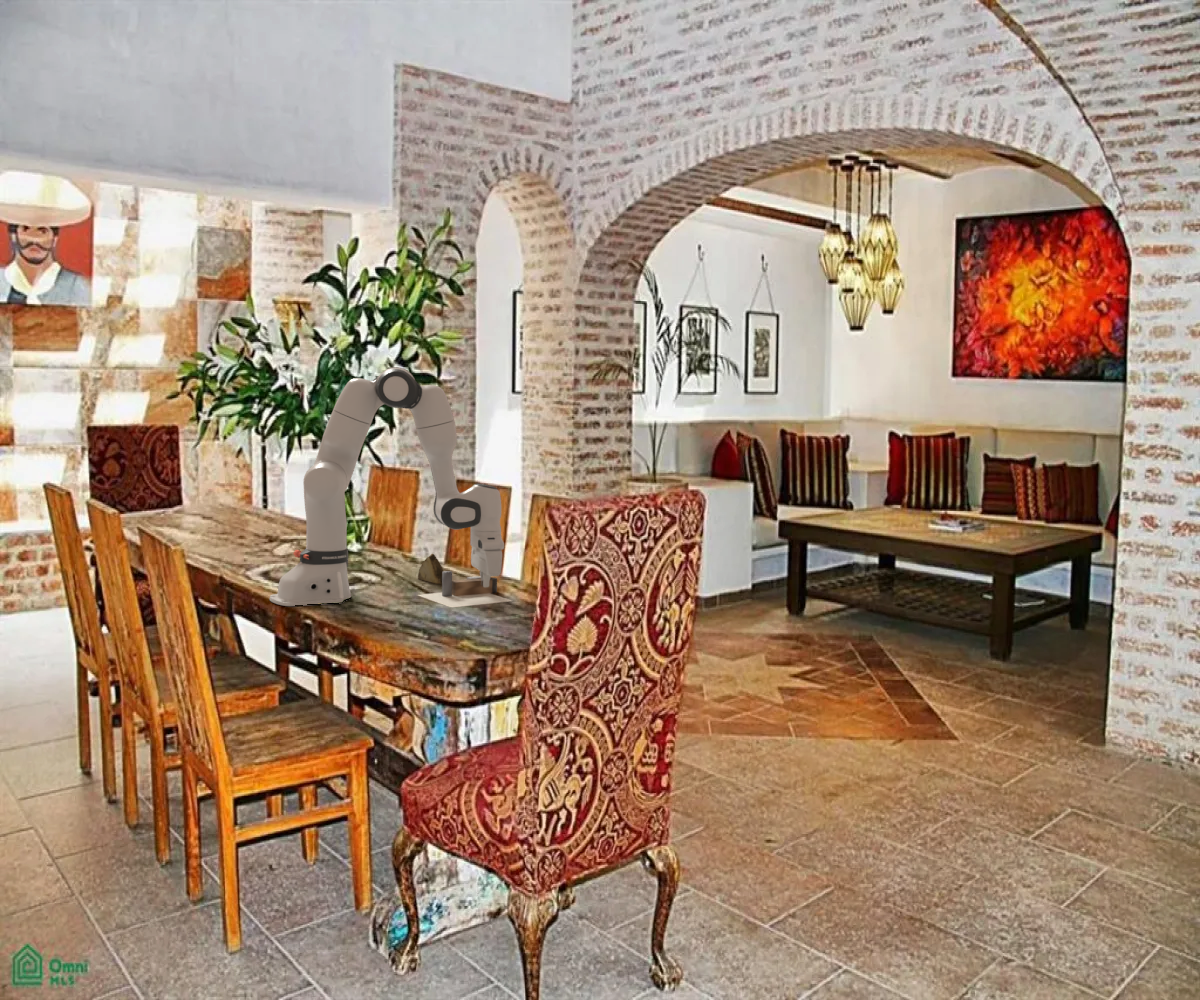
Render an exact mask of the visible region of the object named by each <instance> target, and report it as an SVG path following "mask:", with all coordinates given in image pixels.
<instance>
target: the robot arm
mask: <svg viewBox="0 0 1200 1000" xmlns="http://www.w3.org/2000/svg"><path fill="white" fill-rule="evenodd" d="M383 405H386V406H388V407H390V408H395V409H406V410H409V411H410V412H411V415H412V416H413V421H414V426H415V429H416V433H417V438H418V440H419V442H420V445H421V448H422V450H423V452H424V454H425V456H426V458H427V460H428V463H429V467H430V471H431V475H432V481H433V484H434V489H435V496H434V497H435V499H434V502H433V515H434V518H436V520H437V521H438V522H439V523H440V524H441V525H443V526H446V527H447V528H449V529H452V530H463V529H466V528H467V529H468V528H470V542H469V543H470V546H471V550H470V551H471V554H470V563H471V566H472V567H473V568H474V569H477V570H478V571H479V577H481V585H482V586H483V587H489V581H490V578H492V577H499V576H500V575H501V573H502V568H503V567H502V566H503V550H504V549H505V542H504V540H503V538H502V526H501V518H502V496H501V493H500V490H499V489H498V488H497V487H495V486H493V485H489V484H485V483H474V484H473V485H472V486H471V487H469V488H468V489H466V490H464V491H461V492H460V491H459V490H458V487H457V482H456V476H455V472H454V467H453V454H454V451H455V449H456V447H457V443H458V438H457V437H458V434H457V426H456V422H455V417H454V414H453V410H452V407H451V404H450V401H449V399H448V397H447V394H446V393H445V391H444V389H443V388H442V387H440V386H438V385H435V384H429V385H428V384H427V385H420V384H419V383H418V382H417V381H416V379H415V377H414V376H413V374H412V373H411V372H410V371H409V370H407V369H406V368H403V367H399V366H393V367H389V368H387V369H385V370H384V371H382V372H381V373H380V374H379V375H378V376H377V377H375V378H374V379H372V380H368V379H365V378H360V377H356V378H352V379H350V380H349V381H347V383H346V384H345V386H344V387H343V388H342V390H341V393H340V394H339V396H338V398H337V399H336V403H335V405H334V407H333V409H332V412H331V415H330V417H329V419H328V422H327V424H326V427H325V429H324V432H323V435H322V438H321V442H320V446H319V449H318V452H317V455H316V458H315V461H314V463H313V465H312V466H311V467H309V468H308V469H307V471H306V472H305V474H304V476H303V497H304V498H303V499H304V509H305V520H306V521H305V522H306V528H305V529H306V535H305V536H306V538H305V539H306V541H305V542H306V544H305V545H306V548H305V549H304V550H299V549H295V550H294V552H293V553H292V554H293V555H294V557H295V558H299V562H298V563H297V564H296V565H295V566H294V567H292V568H291V569H289V571H287V572H286V573H285V574H283V575H282V576H281V577H280V579H279V582H278V588H277V593H275V594H274V593H273V594H270V595H269V601H270V602H271V603H274V604H276V605H280V606H285V607H296V606H295V605H303V606H308V605H307V604H318V603H332V602H342V601H343V600H344V599H347V598H350V597H351V596H352V593H351V589H350V588H351V587H350V585H349V576H348V567H349V550H348V548H347V530H348V529H347V515H346V499H345V498H346V497H345V495H346V494H345V491H347V490H348V487H349V486H350V483H351V480H352V477H353V475H354V471H355V468H356V466H357V463H358V459H359V456H360V453H361V450H362V447H363V445H364V442H365V441H366V437H367V435H368V432H369V429H370V427H371V424H372V423H373V419H374V417H375V415H376V413H377V411H378V409H379V408H380V407H382V406H383Z"/></svg>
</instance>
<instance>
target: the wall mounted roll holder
mask: <svg viewBox="0 0 1200 1000" xmlns="http://www.w3.org/2000/svg"><path fill="white" fill-rule="evenodd" d="M468 579H481V577H480V575H478V576H467V577H466V580H468ZM452 581H453V571H452V570H444V571H443V572H442V583H441V592H434V593H424V594H417V596H418V597H421V598H423V599H426V600H429V601H432V602H435V603H436V604H437V603H438V604H440V605H443V606H446V607H448V608H461V607H470V606H480V605H488V604H489V605H490V604H498V603H507V602H508V603H509V602H513V600H512V599H510V598H509V599H508V598H505V597H502V596H499V595H496V594H494V593H487V594H475V595H464V596H454V595H452Z"/></svg>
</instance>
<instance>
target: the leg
mask: <svg viewBox="0 0 1200 1000" xmlns="http://www.w3.org/2000/svg"><path fill="white" fill-rule="evenodd" d="M487 593H490V594H496V593H498V578H496V577H490V581H489V587H483V586H482V585H481V579H468V580H467V579H457V580H455V579H454V580H452V595H454V596H464V595H475V594H487Z"/></svg>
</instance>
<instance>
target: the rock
mask: <svg viewBox="0 0 1200 1000" xmlns="http://www.w3.org/2000/svg"><path fill="white" fill-rule="evenodd" d="M443 571H445V570H444V568H443V566H442V564H441V562H440V561H439V559H438V558H437V557H436V554H434V553H431V554H430V555H429V556H427V557H426V559H424V561H423V562H422V563H421V564H420V567H419V569H418V574H417V580H421V581H425V582H428V583H432V584H437V585H439V584H442V572H443Z"/></svg>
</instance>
